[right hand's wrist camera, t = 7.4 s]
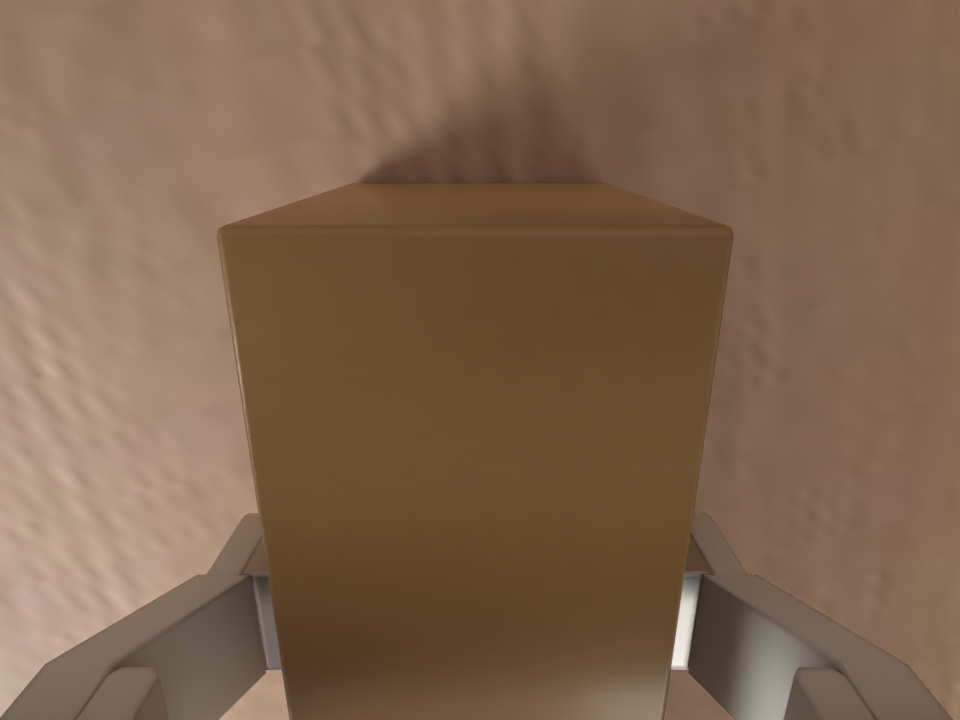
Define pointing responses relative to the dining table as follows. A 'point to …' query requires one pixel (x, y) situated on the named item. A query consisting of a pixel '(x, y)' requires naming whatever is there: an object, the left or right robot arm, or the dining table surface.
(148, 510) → the dining table surface
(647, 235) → the bar
